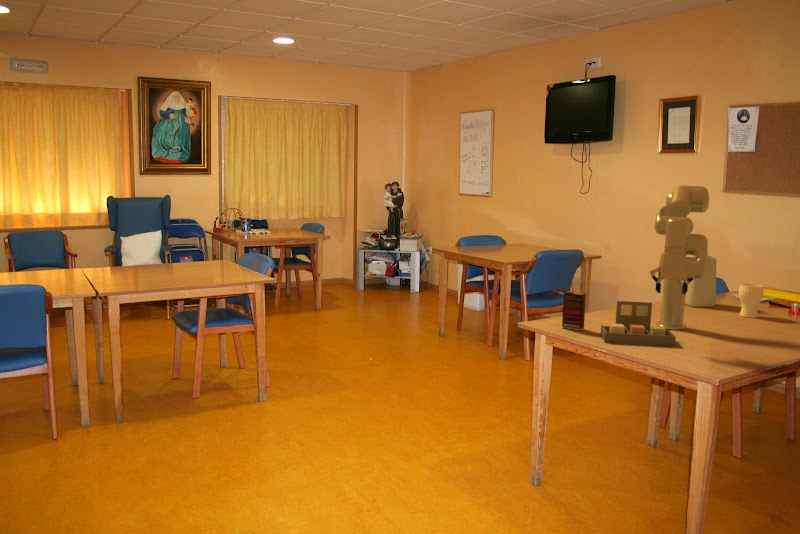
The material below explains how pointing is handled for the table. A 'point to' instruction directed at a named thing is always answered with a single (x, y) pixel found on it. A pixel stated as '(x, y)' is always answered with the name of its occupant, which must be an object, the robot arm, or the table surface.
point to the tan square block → (617, 328)
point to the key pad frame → (637, 337)
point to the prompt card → (633, 313)
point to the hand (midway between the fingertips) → (671, 293)
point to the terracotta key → (637, 329)
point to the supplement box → (573, 310)
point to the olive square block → (657, 330)
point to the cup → (750, 299)
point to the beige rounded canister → (703, 287)
